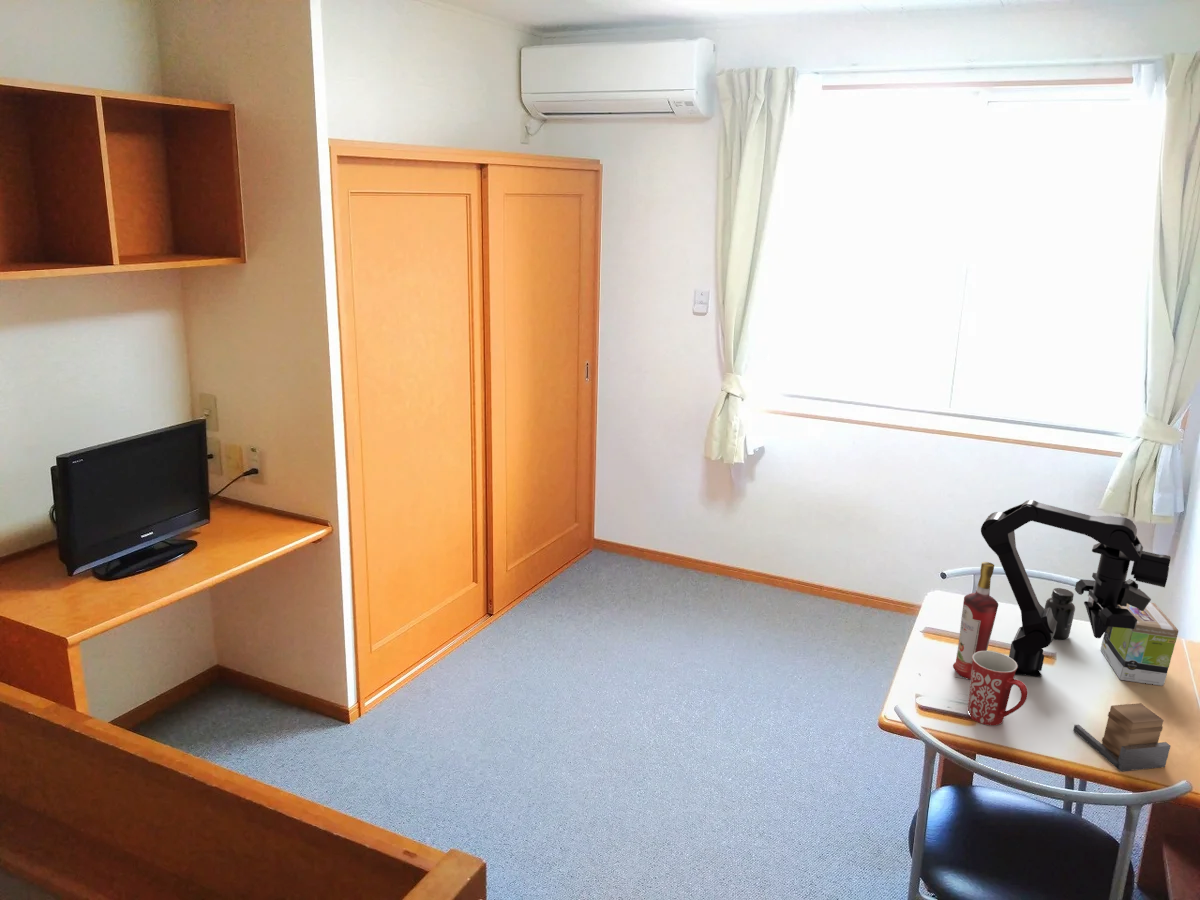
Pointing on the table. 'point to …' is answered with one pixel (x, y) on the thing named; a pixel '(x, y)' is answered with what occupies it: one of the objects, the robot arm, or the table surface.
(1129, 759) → the bay
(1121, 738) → the chest
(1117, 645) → the tea box
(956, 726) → the table surface
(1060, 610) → the supplement bottle
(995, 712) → the mug
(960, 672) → the liquor
